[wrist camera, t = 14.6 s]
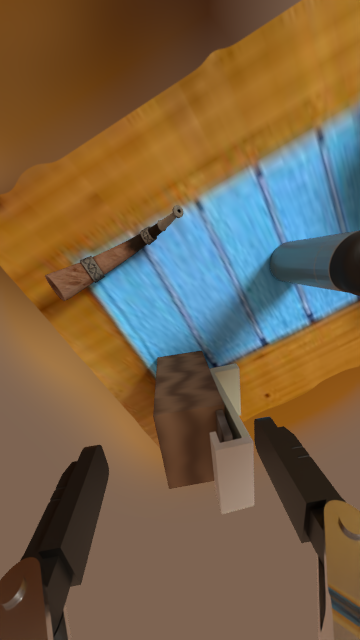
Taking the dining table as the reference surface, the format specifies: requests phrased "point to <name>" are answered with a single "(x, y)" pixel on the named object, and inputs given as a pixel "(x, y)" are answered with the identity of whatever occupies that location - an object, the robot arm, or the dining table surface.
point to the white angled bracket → (232, 447)
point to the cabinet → (187, 417)
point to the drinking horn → (105, 260)
